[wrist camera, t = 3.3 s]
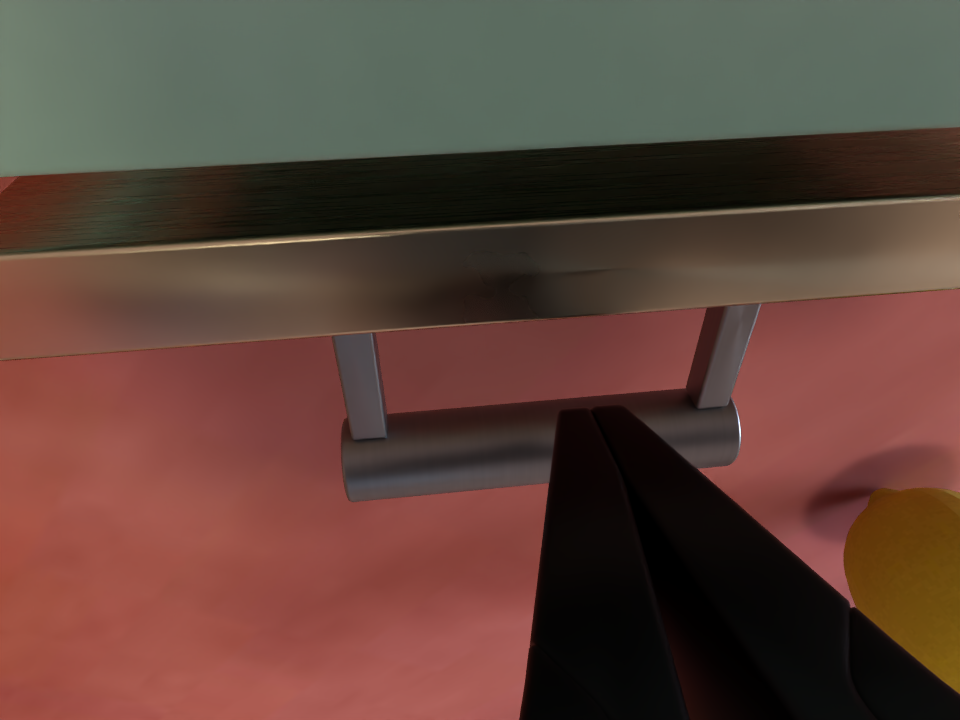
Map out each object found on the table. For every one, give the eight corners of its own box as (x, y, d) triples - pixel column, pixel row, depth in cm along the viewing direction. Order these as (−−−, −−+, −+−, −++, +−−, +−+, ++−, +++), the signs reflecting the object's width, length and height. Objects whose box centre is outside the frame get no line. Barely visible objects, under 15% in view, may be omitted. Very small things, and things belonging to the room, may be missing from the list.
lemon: (795, 550, 25) (929, 782, 19) (810, 461, 21) (980, 711, 15) (937, 517, 25) (1120, 742, 19) (975, 421, 21) (1217, 660, 15)
